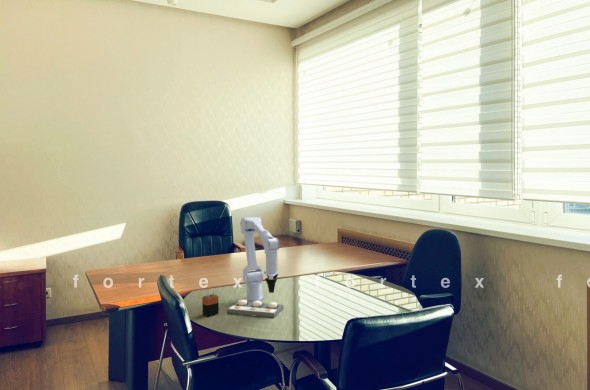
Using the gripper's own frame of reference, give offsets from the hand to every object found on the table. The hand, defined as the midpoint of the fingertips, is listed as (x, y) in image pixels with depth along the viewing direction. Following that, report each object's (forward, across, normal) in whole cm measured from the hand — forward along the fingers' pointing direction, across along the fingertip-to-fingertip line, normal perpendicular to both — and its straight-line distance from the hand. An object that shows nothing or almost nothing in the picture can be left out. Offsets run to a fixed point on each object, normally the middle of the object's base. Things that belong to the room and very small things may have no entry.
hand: (271, 290), depth 234 cm
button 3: (+9, 0, 0) cm, 9 cm away
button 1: (+9, -5, -15) cm, 18 cm away
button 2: (+9, -2, -7) cm, 12 cm away
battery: (+11, +5, -29) cm, 32 cm away
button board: (+10, 0, -8) cm, 13 cm away
